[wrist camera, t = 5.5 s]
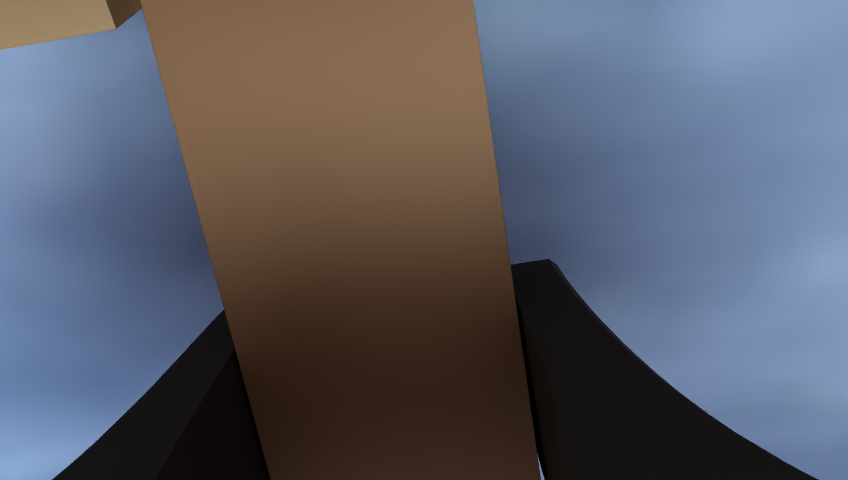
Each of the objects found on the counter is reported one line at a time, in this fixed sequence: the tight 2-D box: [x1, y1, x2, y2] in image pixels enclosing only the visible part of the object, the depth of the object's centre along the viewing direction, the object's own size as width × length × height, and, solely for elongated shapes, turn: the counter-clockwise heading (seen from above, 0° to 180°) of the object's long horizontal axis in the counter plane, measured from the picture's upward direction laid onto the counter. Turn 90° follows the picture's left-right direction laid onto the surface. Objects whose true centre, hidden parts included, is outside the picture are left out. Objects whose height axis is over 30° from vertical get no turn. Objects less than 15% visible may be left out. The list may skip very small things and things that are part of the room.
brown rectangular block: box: [140, 0, 541, 480], centre depth 12 cm, size 13×4×6 cm, turn 9°
